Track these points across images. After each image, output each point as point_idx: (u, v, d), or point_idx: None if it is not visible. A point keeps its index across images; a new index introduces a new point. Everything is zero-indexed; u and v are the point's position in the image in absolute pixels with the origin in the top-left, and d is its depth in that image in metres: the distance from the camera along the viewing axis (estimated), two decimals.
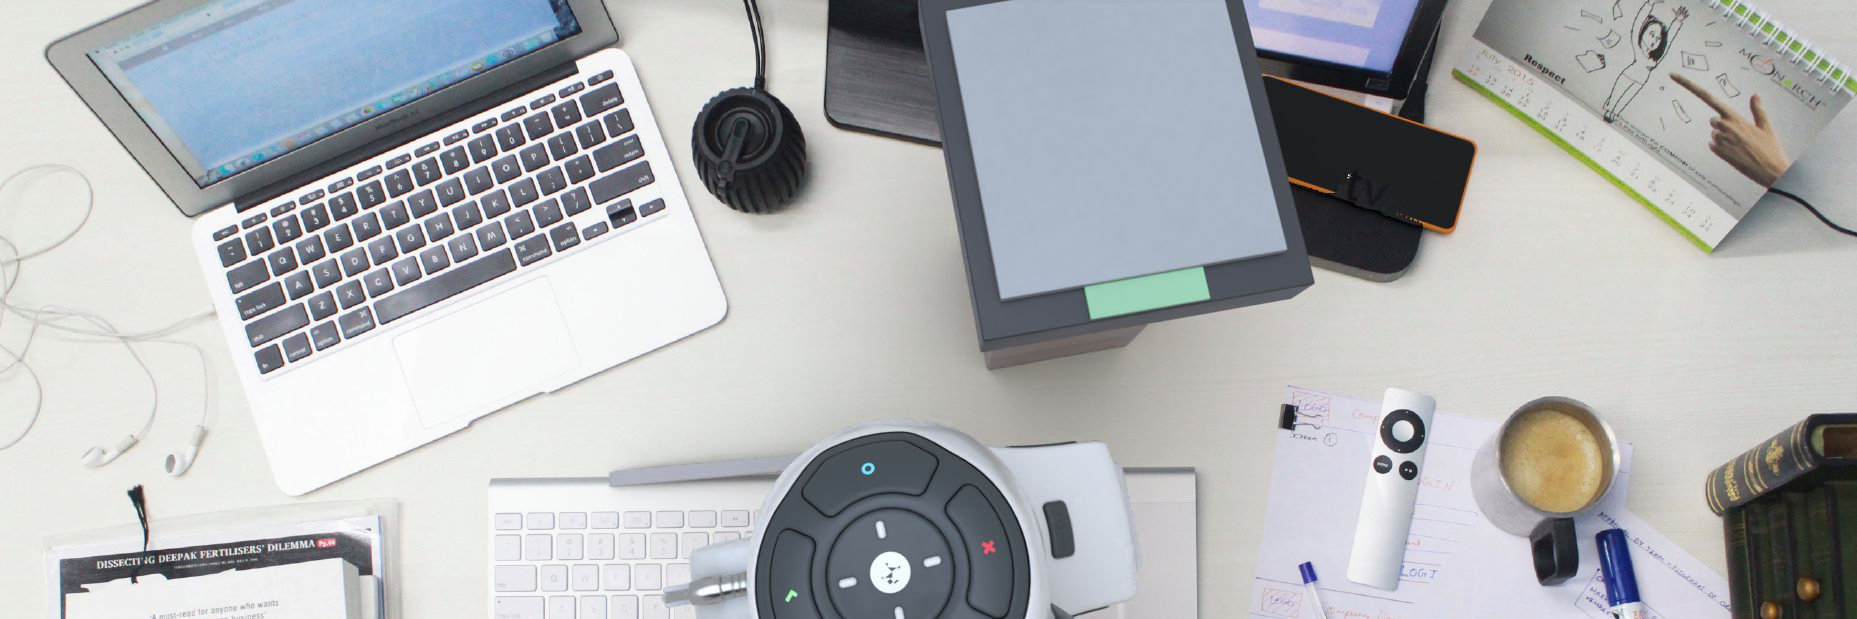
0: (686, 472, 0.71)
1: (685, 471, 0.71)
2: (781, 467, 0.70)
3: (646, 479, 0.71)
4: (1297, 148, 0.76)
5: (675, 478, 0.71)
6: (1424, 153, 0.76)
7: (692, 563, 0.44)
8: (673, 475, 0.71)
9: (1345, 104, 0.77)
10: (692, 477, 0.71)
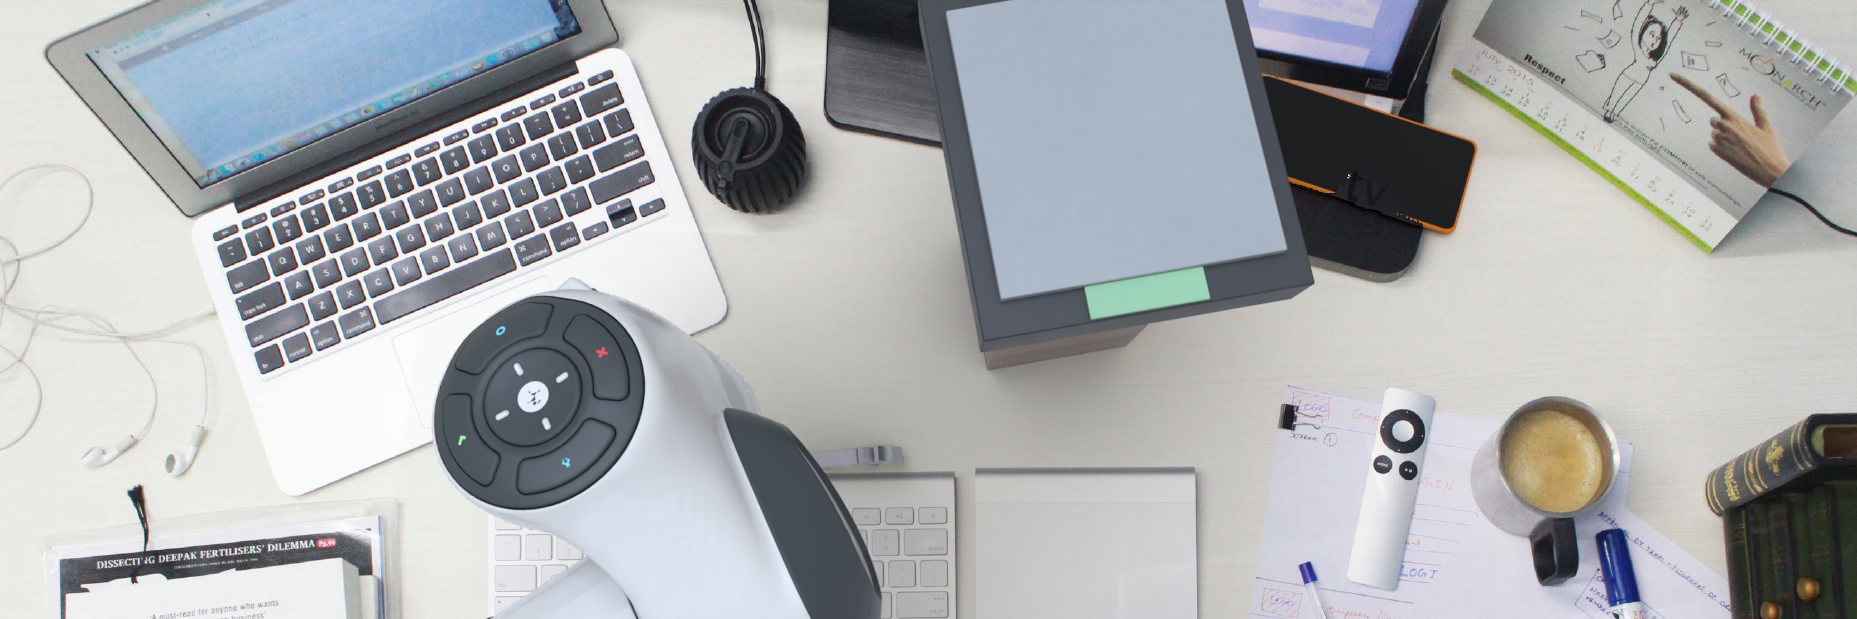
0: None
1: None
2: None
3: None
4: (1297, 148, 0.76)
5: None
6: (1424, 153, 0.76)
7: None
8: None
9: (1345, 104, 0.77)
10: None
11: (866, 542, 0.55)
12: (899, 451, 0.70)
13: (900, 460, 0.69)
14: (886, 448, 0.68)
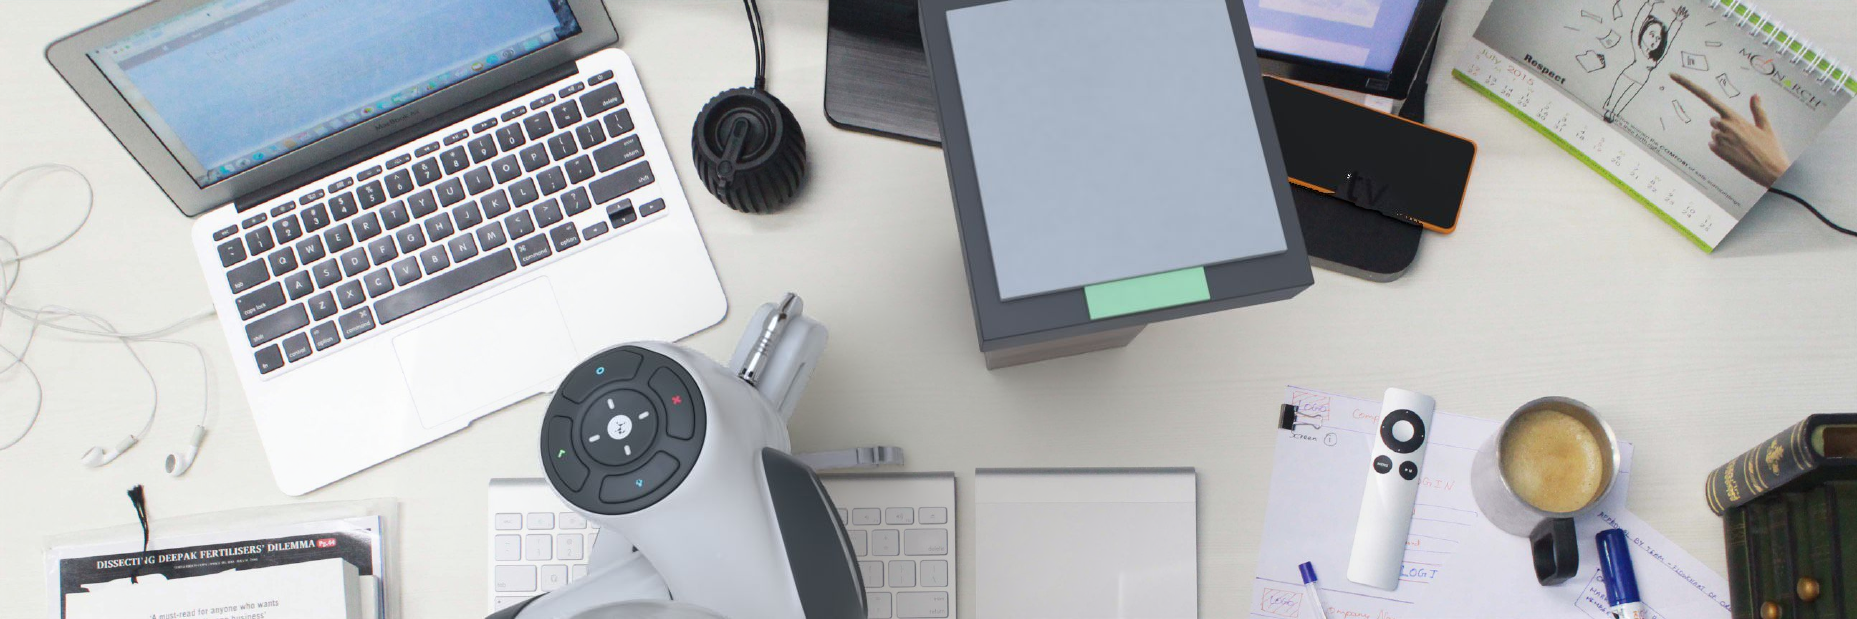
0: None
1: None
2: None
3: None
4: (1297, 148, 0.76)
5: None
6: (1424, 153, 0.76)
7: (805, 322, 0.62)
8: None
9: (1345, 104, 0.77)
10: None
11: None
12: (899, 451, 0.70)
13: (900, 460, 0.69)
14: (886, 448, 0.68)
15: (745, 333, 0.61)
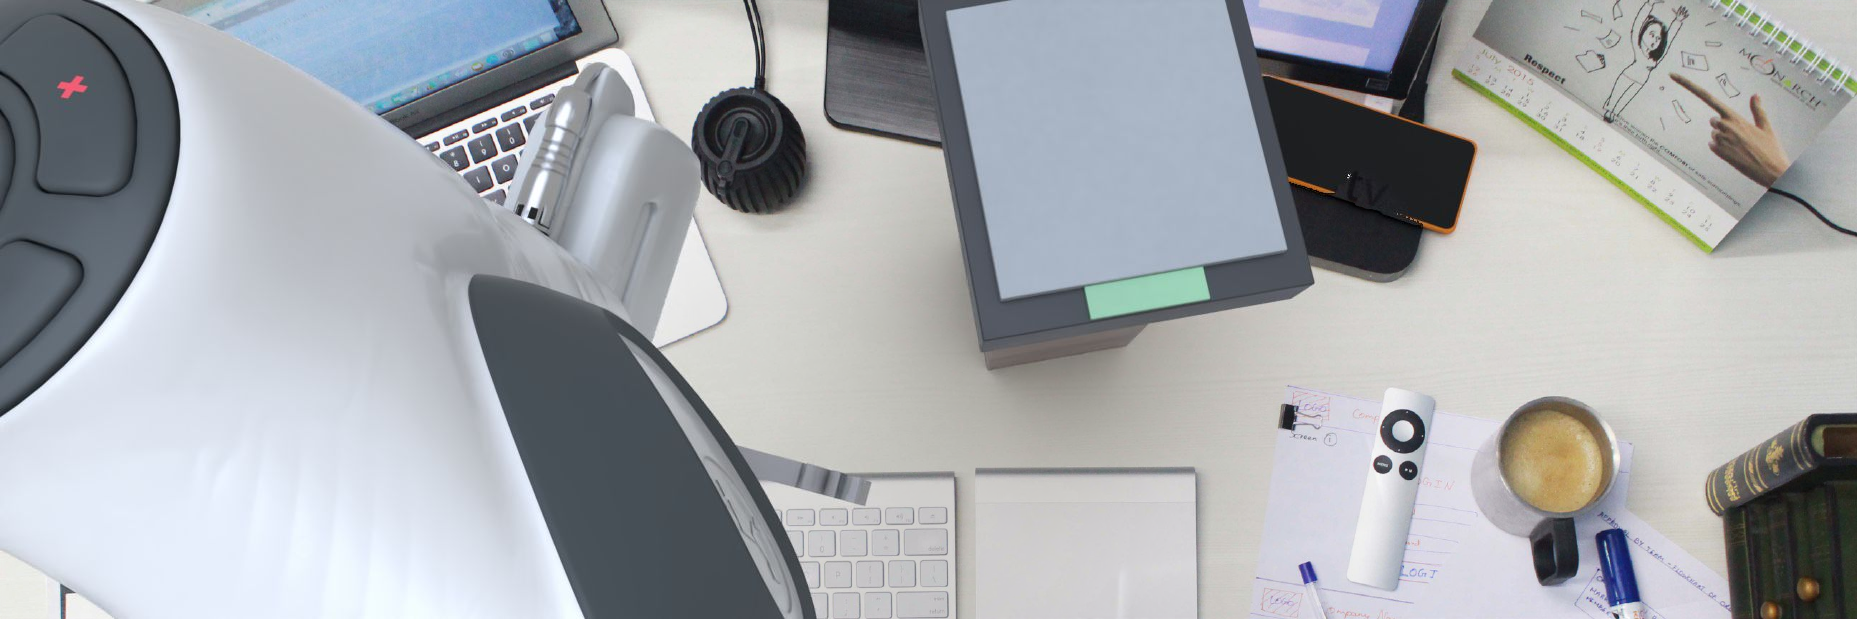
0: None
1: None
2: None
3: None
4: (1297, 148, 0.76)
5: None
6: (1424, 153, 0.76)
7: (638, 119, 0.33)
8: None
9: (1345, 104, 0.77)
10: None
11: None
12: (867, 489, 0.42)
13: (864, 504, 0.42)
14: (851, 480, 0.40)
15: (523, 153, 0.32)
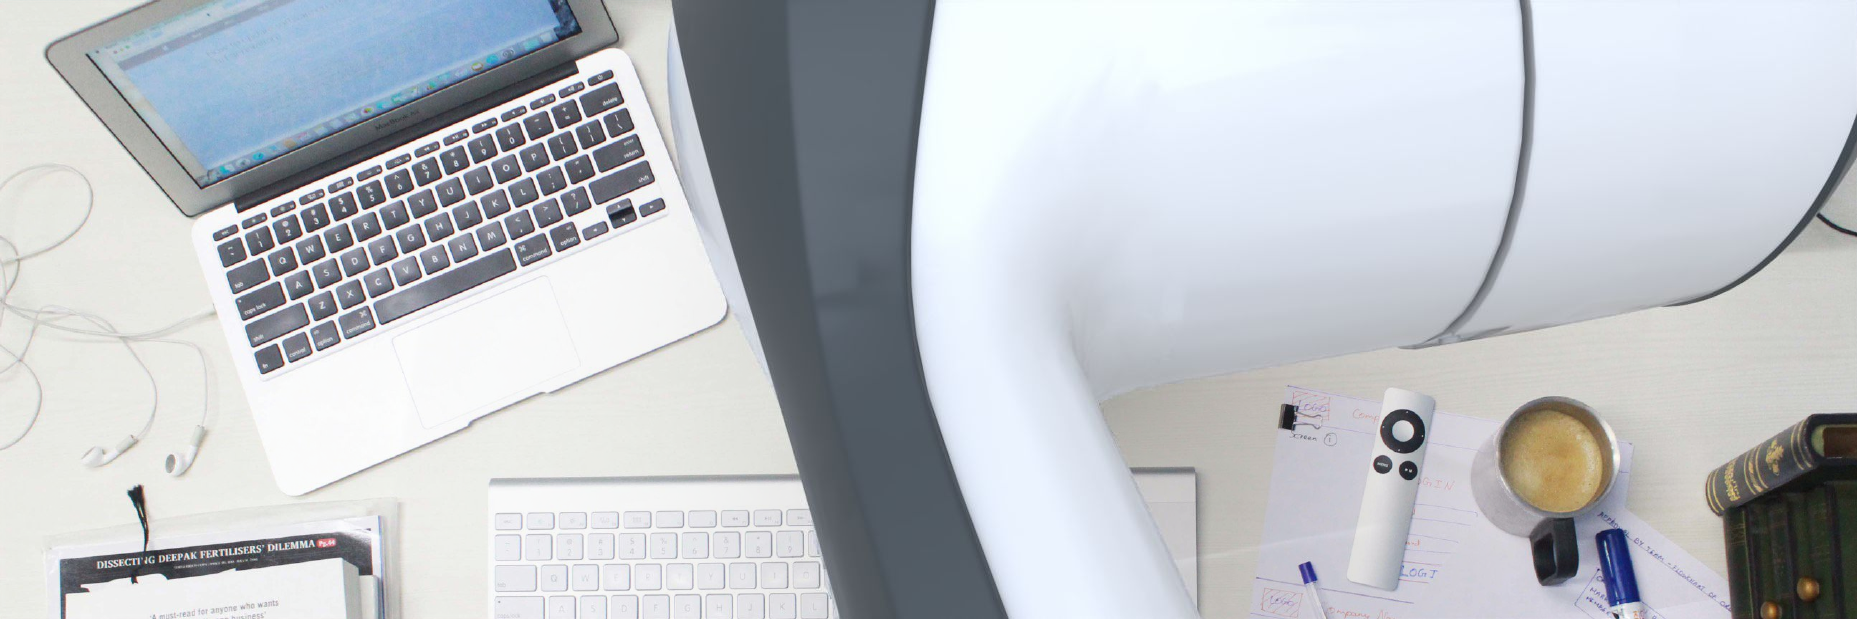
0: None
1: None
2: None
3: None
4: None
5: None
6: None
7: None
8: None
9: None
10: None
11: None
12: None
13: None
14: None
15: None
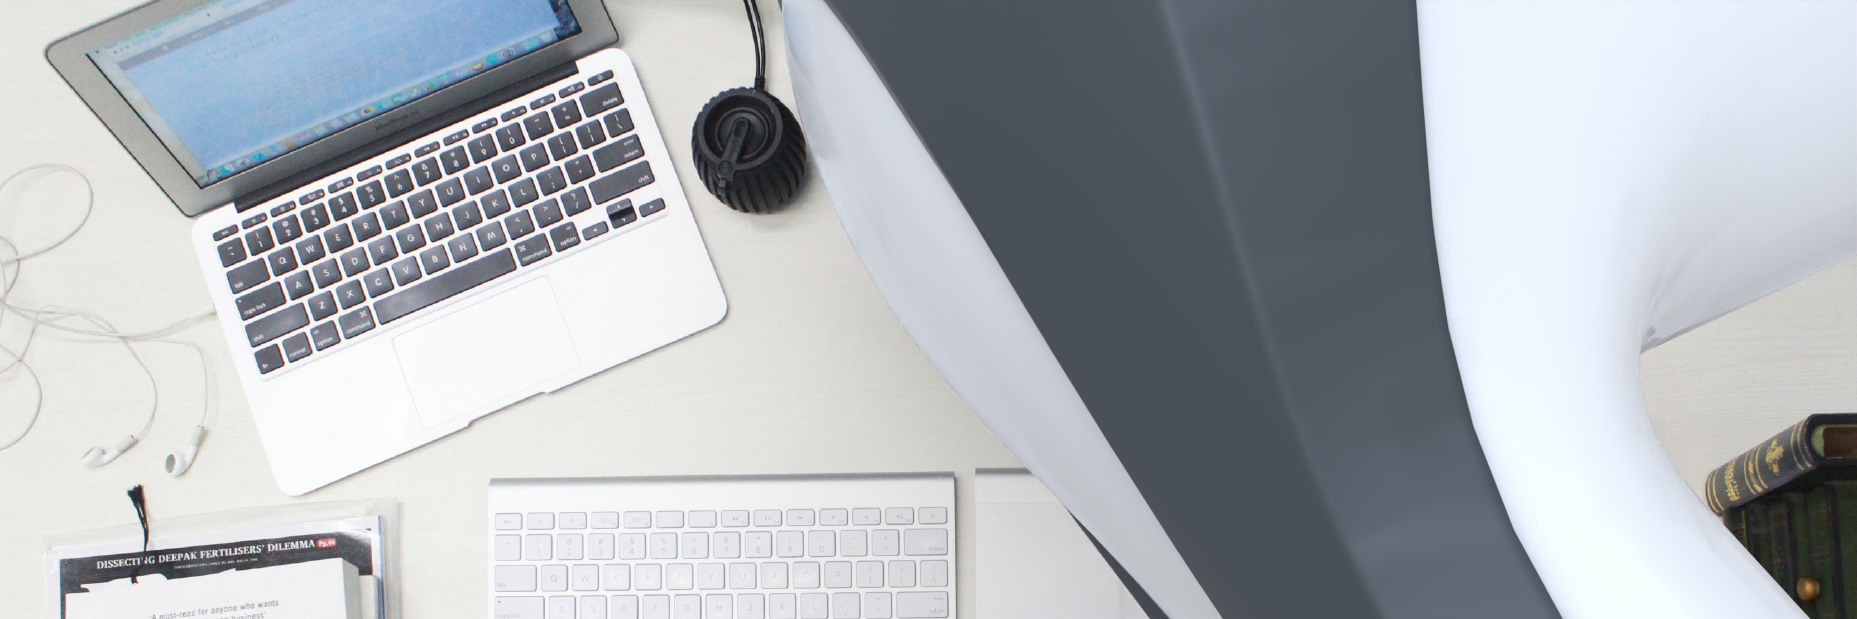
0: None
1: None
2: None
3: None
4: None
5: None
6: None
7: None
8: None
9: None
10: None
11: None
12: None
13: None
14: None
15: None
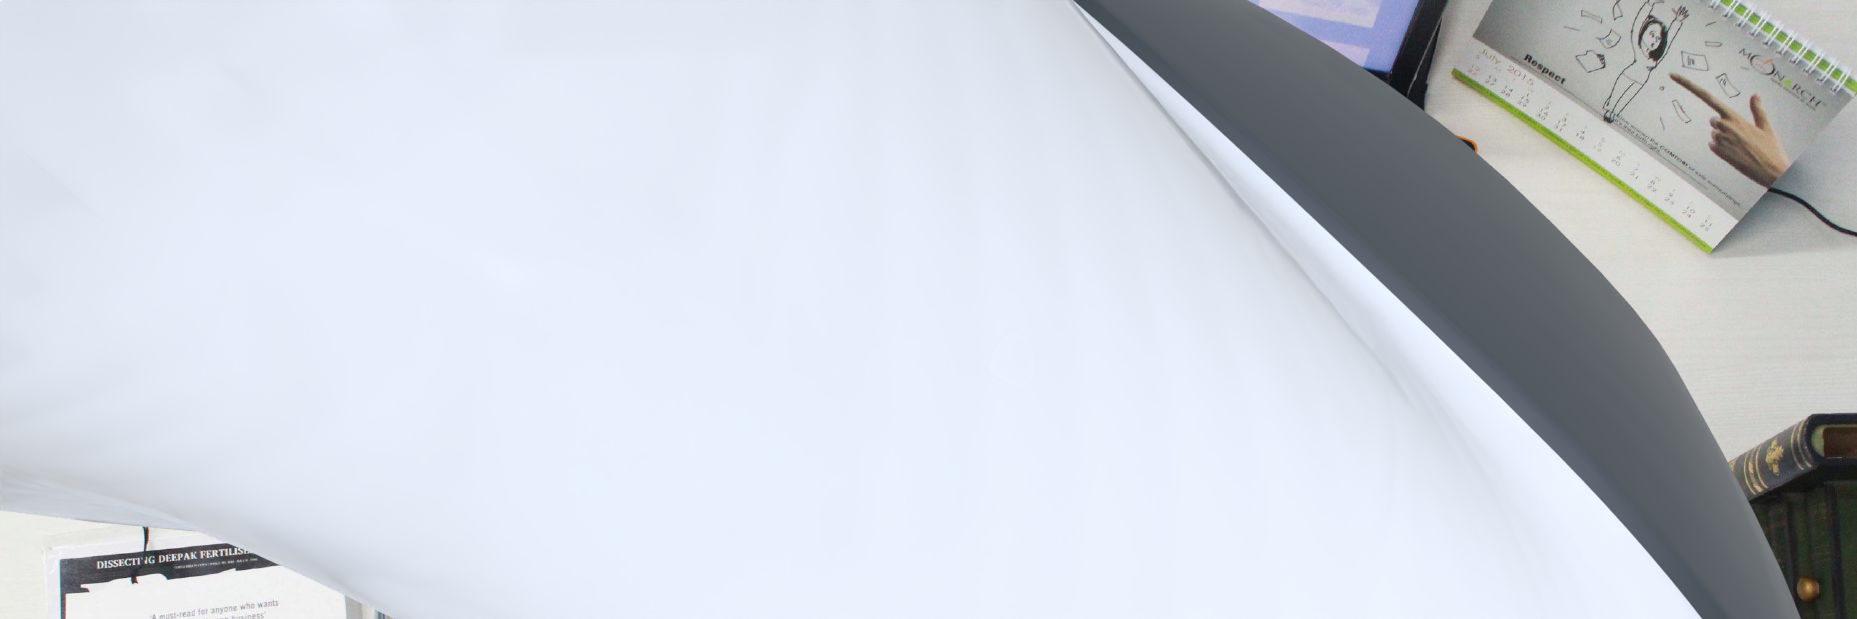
0: None
1: None
2: None
3: None
4: None
5: None
6: None
7: None
8: None
9: None
10: None
11: None
12: None
13: None
14: None
15: None
